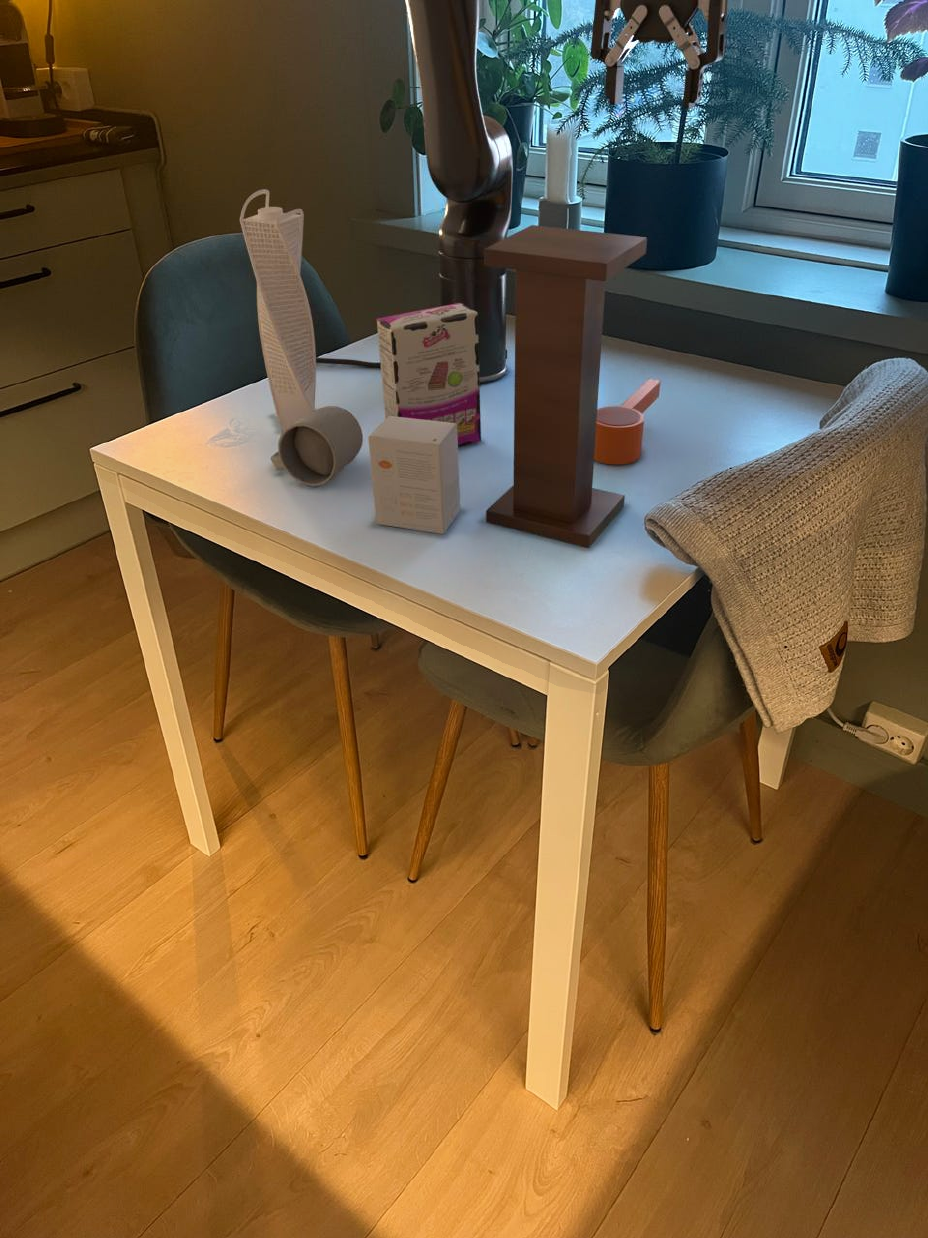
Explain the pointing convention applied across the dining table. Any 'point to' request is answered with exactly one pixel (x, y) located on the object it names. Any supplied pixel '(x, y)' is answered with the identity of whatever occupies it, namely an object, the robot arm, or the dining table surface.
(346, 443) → the ceramic mug
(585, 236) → the tall walnut stand
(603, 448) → the orange measuring cup
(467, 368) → the candy bar box
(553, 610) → the dining table surface
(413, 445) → the small box
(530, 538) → the dining table surface
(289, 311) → the skyscraper
